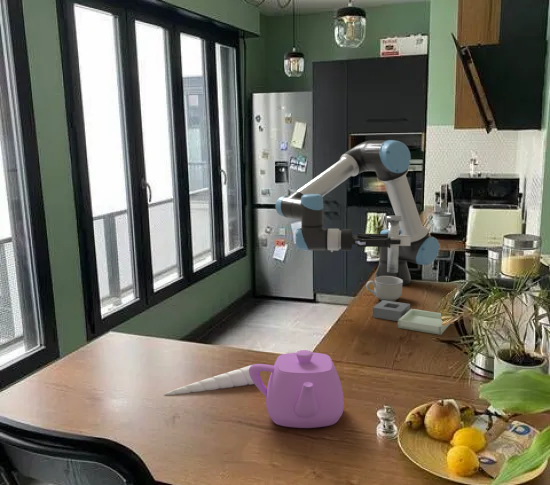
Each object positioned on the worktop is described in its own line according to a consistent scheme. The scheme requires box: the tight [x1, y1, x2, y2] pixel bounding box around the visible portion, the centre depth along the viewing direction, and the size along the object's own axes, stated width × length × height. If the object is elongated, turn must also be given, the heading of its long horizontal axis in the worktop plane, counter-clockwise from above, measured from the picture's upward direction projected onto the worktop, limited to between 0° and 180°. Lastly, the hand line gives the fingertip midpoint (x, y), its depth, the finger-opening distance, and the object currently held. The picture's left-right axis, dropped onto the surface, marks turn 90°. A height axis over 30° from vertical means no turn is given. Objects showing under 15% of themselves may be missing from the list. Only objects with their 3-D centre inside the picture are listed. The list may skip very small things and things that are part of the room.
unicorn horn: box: [163, 364, 255, 396], centre depth 137 cm, size 5×24×5 cm, turn 104°
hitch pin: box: [385, 215, 402, 273], centre depth 185 cm, size 5×5×19 cm
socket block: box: [372, 300, 411, 322], centre depth 190 cm, size 10×10×4 cm
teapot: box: [249, 349, 345, 429], centre depth 118 cm, size 23×21×15 cm
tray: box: [397, 308, 452, 336], centre depth 180 cm, size 14×14×2 cm
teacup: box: [365, 276, 403, 302], centre depth 208 cm, size 14×11×8 cm
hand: (409, 240), depth 184 cm, fingers closed on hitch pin, 4 cm apart
